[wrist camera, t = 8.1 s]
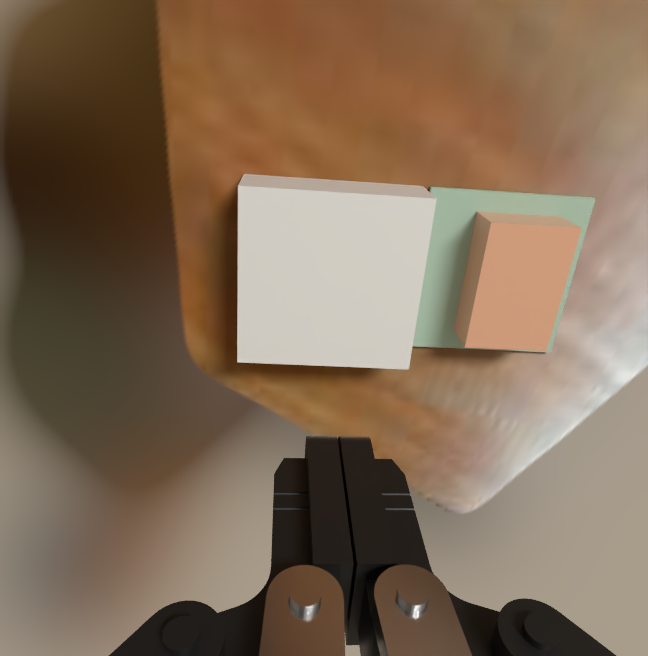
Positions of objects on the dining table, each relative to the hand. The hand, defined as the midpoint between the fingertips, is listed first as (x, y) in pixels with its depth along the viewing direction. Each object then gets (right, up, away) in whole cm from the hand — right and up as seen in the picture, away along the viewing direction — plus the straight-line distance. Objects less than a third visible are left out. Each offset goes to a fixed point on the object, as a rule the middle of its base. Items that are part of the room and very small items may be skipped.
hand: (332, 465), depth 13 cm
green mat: (+12, +7, +26) cm, 30 cm away
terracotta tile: (+13, +6, +25) cm, 29 cm away
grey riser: (0, +8, +25) cm, 27 cm away
